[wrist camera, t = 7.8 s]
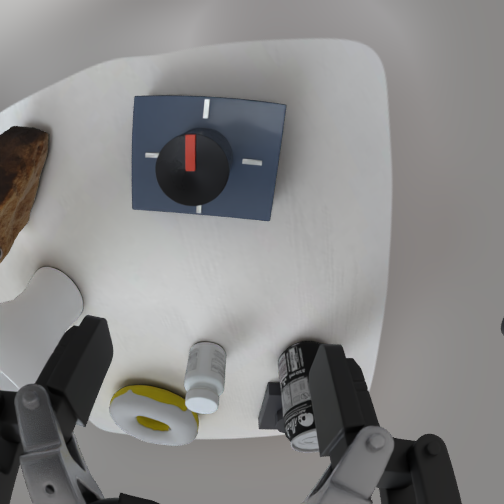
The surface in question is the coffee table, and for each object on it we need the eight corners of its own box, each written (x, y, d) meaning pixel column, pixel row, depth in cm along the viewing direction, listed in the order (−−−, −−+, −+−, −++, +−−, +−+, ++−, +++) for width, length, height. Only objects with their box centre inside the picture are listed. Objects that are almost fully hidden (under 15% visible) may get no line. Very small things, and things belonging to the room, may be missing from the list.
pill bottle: (191, 363, 35) (183, 414, 28) (188, 339, 33) (177, 393, 26) (226, 365, 35) (223, 417, 28) (226, 341, 33) (222, 396, 26)
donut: (100, 375, 37) (90, 401, 32) (186, 378, 36) (181, 408, 32) (134, 422, 43) (129, 445, 39) (208, 426, 43) (206, 451, 38)
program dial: (231, 187, 22) (228, 209, 17) (173, 186, 21) (155, 207, 17) (233, 128, 19) (230, 134, 15) (172, 128, 19) (152, 135, 15)
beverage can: (330, 368, 36) (349, 446, 25) (280, 376, 36) (288, 457, 26) (330, 333, 33) (356, 420, 22) (274, 342, 33) (283, 433, 22)
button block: (268, 382, 37) (269, 406, 33) (338, 382, 37) (344, 404, 34) (258, 417, 41) (259, 438, 38) (319, 417, 42) (322, 437, 39)
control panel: (143, 198, 25) (131, 210, 22) (146, 96, 21) (133, 96, 18) (267, 208, 26) (270, 222, 23) (281, 104, 21) (287, 104, 19)
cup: (44, 237, 26) (-41, 324, 13) (109, 303, 30) (55, 411, 17) (16, 285, 29) (-46, 362, 16) (71, 338, 33) (27, 426, 20)
